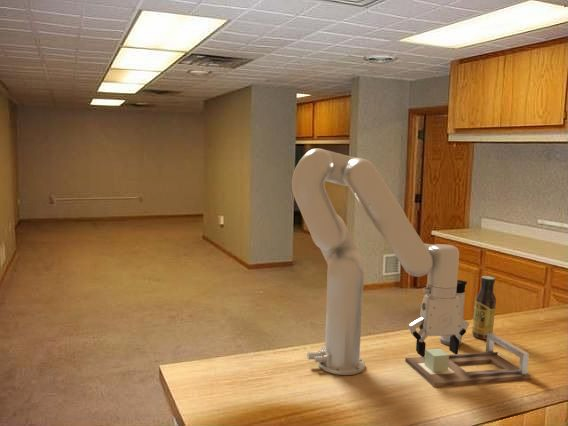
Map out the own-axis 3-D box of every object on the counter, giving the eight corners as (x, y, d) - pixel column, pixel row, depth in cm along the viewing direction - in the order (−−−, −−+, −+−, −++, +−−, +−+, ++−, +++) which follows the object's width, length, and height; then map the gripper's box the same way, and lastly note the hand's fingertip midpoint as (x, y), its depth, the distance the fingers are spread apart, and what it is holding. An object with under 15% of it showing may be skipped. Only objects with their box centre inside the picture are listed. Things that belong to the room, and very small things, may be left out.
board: (434, 387, 128) (434, 381, 128) (405, 361, 144) (405, 355, 143) (530, 378, 134) (530, 373, 134) (492, 355, 150) (493, 349, 150)
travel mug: (458, 348, 154) (463, 283, 152) (437, 342, 158) (441, 280, 156) (465, 342, 159) (469, 280, 157) (444, 337, 163) (448, 276, 161)
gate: (521, 374, 134) (523, 353, 133) (485, 351, 149) (487, 332, 148) (527, 374, 134) (528, 353, 134) (490, 351, 149) (492, 332, 149)
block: (433, 372, 134) (434, 356, 134) (424, 365, 138) (425, 349, 138) (447, 370, 135) (449, 354, 135) (439, 364, 139) (440, 348, 139)
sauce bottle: (467, 334, 167) (472, 274, 165) (483, 332, 169) (488, 274, 166) (480, 341, 161) (485, 280, 158) (497, 339, 163) (502, 279, 160)
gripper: (418, 296, 129) (414, 361, 131) (478, 294, 133) (474, 357, 135) (404, 288, 136) (401, 350, 138) (462, 286, 140) (458, 346, 142)
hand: (437, 353), depth 136 cm, fingers open, 9 cm apart
